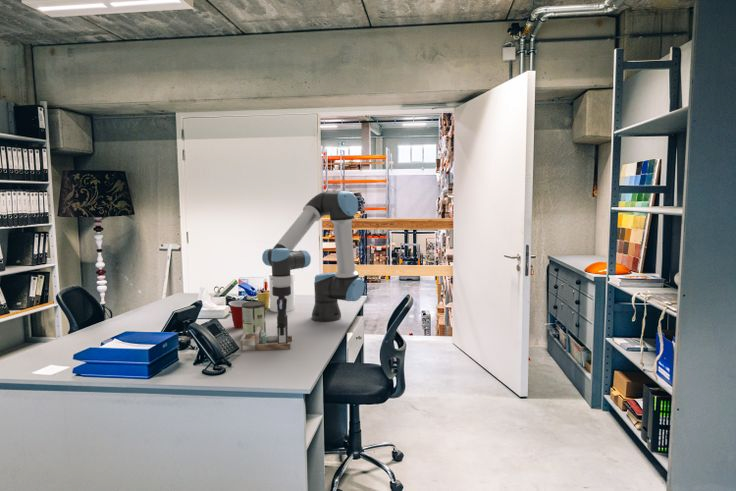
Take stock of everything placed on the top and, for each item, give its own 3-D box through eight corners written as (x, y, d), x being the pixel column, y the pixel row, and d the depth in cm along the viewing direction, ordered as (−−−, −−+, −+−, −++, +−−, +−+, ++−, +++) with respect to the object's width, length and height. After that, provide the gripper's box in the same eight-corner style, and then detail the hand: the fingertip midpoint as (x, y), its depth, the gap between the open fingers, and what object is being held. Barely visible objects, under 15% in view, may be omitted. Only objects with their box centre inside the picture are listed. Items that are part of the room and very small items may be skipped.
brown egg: (250, 335, 198) (250, 344, 199) (248, 337, 194) (248, 347, 195) (259, 334, 199) (260, 344, 199) (258, 337, 195) (258, 347, 195)
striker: (288, 342, 201) (287, 314, 200) (287, 345, 196) (286, 316, 195) (263, 343, 200) (262, 315, 198) (262, 346, 195) (261, 317, 194)
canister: (282, 305, 274) (282, 271, 272) (299, 308, 266) (299, 273, 264) (265, 309, 263) (264, 274, 261) (282, 313, 255) (281, 276, 253)
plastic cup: (246, 330, 220) (245, 305, 219) (224, 329, 222) (224, 304, 221) (256, 324, 231) (255, 300, 230) (235, 323, 233) (235, 299, 232)
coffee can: (250, 330, 221) (250, 300, 220) (270, 332, 218) (269, 301, 217) (238, 336, 211) (237, 305, 210) (258, 338, 208) (257, 306, 207)
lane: (292, 340, 205) (291, 325, 204) (290, 348, 193) (290, 333, 192) (244, 341, 203) (244, 326, 202) (240, 350, 191) (239, 334, 190)
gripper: (274, 282, 204) (275, 335, 206) (270, 289, 187) (271, 347, 190) (291, 282, 205) (292, 335, 207) (289, 289, 188) (290, 346, 190)
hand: (282, 340), depth 198 cm, fingers closed on striker, 3 cm apart
